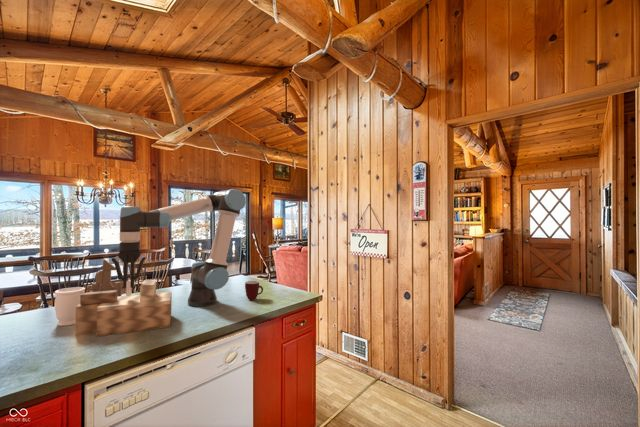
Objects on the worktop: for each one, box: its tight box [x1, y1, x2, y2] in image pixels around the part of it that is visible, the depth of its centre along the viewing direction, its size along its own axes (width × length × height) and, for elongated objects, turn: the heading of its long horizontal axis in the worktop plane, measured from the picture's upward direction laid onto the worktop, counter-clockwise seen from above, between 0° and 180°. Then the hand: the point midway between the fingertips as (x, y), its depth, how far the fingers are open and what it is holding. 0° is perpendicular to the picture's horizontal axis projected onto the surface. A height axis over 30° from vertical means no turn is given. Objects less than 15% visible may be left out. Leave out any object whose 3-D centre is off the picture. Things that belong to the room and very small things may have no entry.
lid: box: [97, 278, 173, 311], centre depth 130 cm, size 26×16×8 cm, turn 115°
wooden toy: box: [89, 258, 123, 297], centre depth 155 cm, size 16×7×25 cm, turn 121°
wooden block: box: [80, 290, 118, 305], centre depth 124 cm, size 12×4×4 cm, turn 115°
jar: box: [54, 286, 86, 327], centre depth 131 cm, size 11×10×15 cm
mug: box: [244, 280, 264, 301], centre depth 172 cm, size 10×8×10 cm
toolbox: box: [74, 295, 173, 337], centre depth 128 cm, size 34×16×12 cm, turn 115°
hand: (128, 295), depth 128 cm, fingers closed
